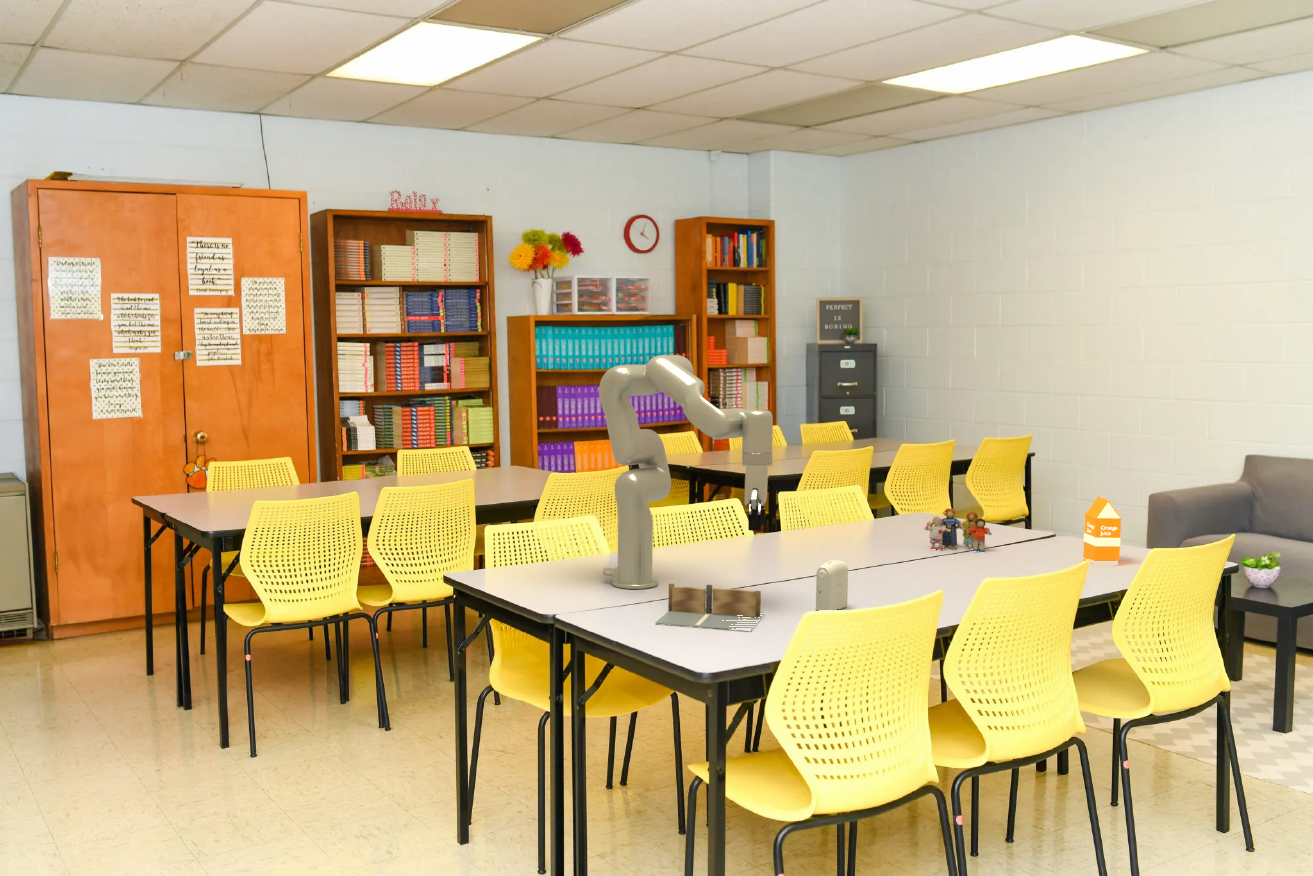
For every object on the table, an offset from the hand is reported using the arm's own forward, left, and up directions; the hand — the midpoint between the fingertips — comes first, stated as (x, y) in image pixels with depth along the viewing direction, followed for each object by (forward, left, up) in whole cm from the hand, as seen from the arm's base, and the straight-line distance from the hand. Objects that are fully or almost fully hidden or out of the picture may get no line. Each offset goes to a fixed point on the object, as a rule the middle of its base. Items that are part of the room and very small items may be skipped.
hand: (756, 527), depth 282 cm
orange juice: (+91, +91, -20) cm, 130 cm away
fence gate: (-2, -12, -20) cm, 23 cm away
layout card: (-8, -16, -20) cm, 27 cm away
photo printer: (+19, +3, -20) cm, 28 cm away
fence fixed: (-14, -12, -20) cm, 27 cm away
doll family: (+48, +101, -20) cm, 113 cm away
